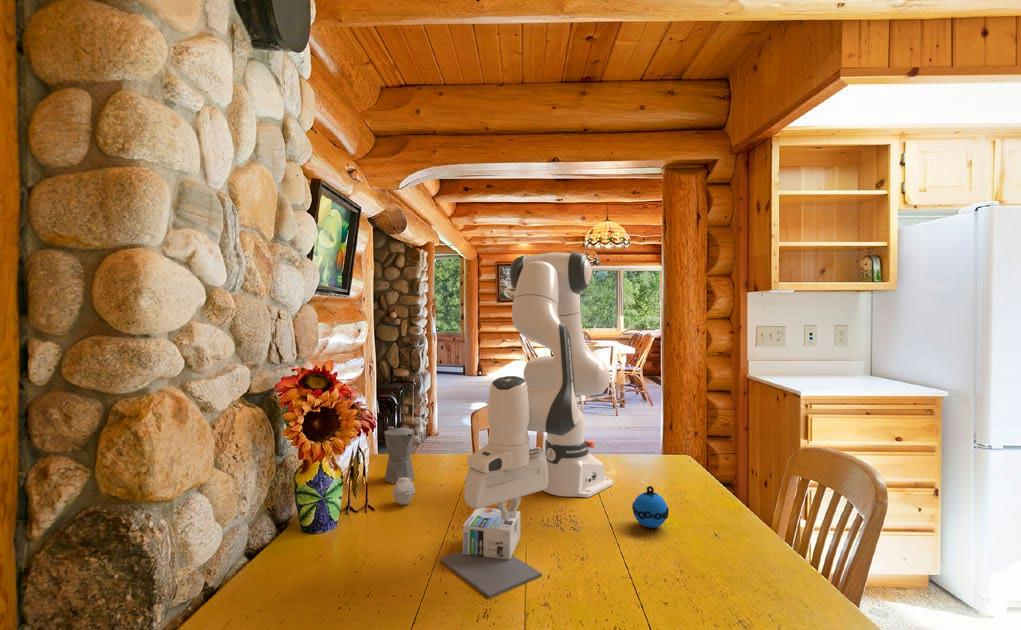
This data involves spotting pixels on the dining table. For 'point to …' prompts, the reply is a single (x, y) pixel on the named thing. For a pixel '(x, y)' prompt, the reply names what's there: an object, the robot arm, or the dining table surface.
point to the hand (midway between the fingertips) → (508, 518)
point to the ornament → (650, 509)
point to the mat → (490, 572)
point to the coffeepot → (398, 452)
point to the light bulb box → (490, 534)
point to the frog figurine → (403, 490)
